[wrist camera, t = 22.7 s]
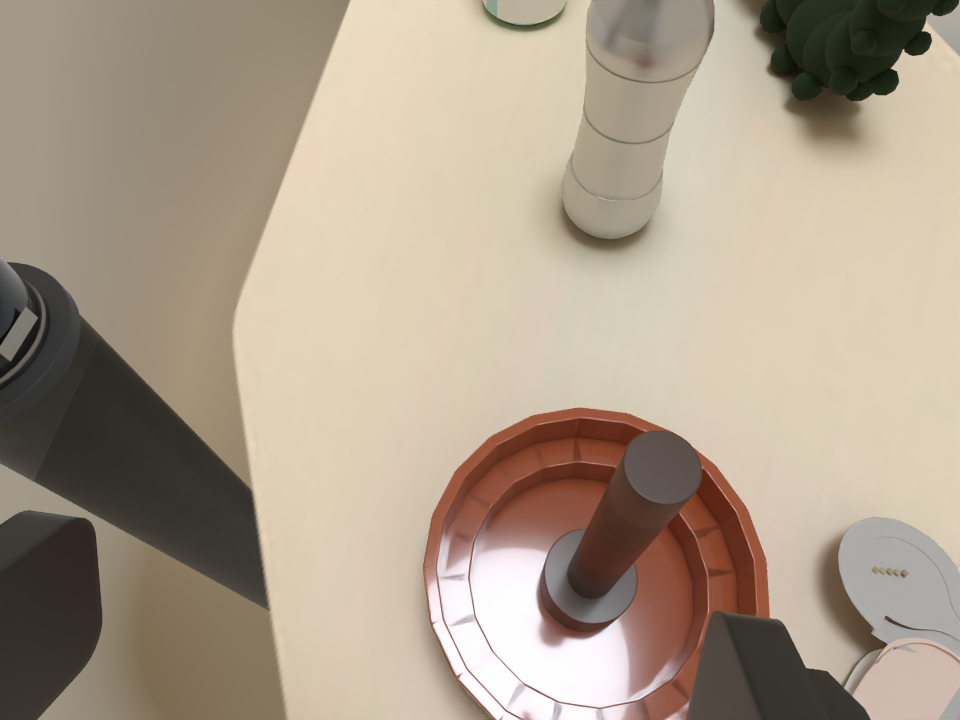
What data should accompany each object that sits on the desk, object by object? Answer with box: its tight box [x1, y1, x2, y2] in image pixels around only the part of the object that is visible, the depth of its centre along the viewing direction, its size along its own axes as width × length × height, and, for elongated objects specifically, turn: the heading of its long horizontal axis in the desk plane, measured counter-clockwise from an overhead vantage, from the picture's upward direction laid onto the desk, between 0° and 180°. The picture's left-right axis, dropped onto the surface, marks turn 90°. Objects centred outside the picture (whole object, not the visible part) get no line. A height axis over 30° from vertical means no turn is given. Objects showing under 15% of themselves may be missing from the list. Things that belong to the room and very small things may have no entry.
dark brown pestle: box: [540, 430, 702, 632], centre depth 27 cm, size 4×4×18 cm
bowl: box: [423, 408, 770, 720], centre depth 33 cm, size 15×15×6 cm
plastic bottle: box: [562, 0, 714, 239], centre depth 38 cm, size 6×7×20 cm
